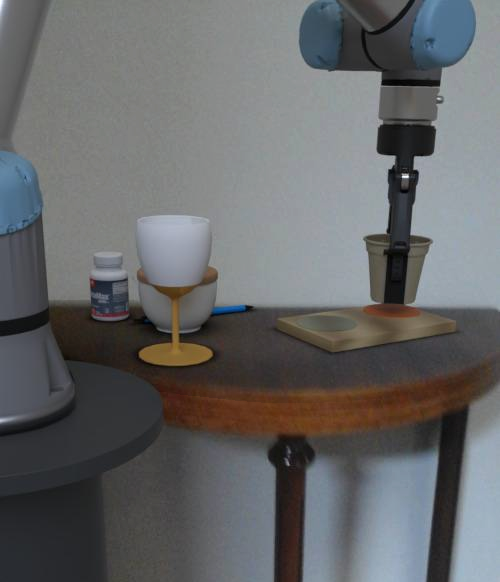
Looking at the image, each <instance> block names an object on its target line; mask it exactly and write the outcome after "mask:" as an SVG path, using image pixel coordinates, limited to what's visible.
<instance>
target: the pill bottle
mask: <svg viewBox="0 0 500 582" xmlns="http://www.w3.org/2000/svg"><path fill="white" fill-rule="evenodd" d="M92 257H93V265H94V266H95V268H93V269H92V270H91V271H90V272H89V290H90V291H89V292H90V293H89V294H90V309H91V310H90V311H91V318H92V319H94V320H96V321H101V322H119V321H123V320H126V319H128V318H129V316H130V295H129V274H128V271H126V269H125V268H122V265H123V264H124V255H123V252H120V251H97V252H94V253H93V255H92Z"/></svg>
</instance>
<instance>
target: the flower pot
mask: <svg viewBox="0 0 500 582" xmlns="http://www.w3.org/2000/svg"><path fill="white" fill-rule="evenodd" d="M362 240H363V242H365V251H366V252H367V256H368V257H367V258H368V259H367V260H368V273H369V274H368V275H369V292H370V293H369V296H370V299H371V301H372V302H374V303H377V304H386V303H384V291H385V279H386V266H387V255H383V251H384V249H389V245H390V234H387V233H373V234H368V235H367V234H366V235H364V236H363V238H362ZM433 243H434V240H433V239H432V238H431V237H427V236H422V235H416V234H410V252H409V253H408V265H407V276H406V287H405V298H404V304H398V305H406V306H407V305H411V304H413V303H415V302H416V299H417V293H418V288H419V284H420V281H421V277H422V272H423V267H424V263H425V259H426V256H427V254H428V253H429V250H430V247H431V245H432V244H433ZM402 244H404V243H402Z"/></svg>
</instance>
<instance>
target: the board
mask: <svg viewBox="0 0 500 582" xmlns="http://www.w3.org/2000/svg"><path fill="white" fill-rule="evenodd" d="M366 306H367V305H365V306H358V307H350V308H343V309H337V310H329V311H322V312H314V313H307V314H301V315H294V316H293V315H292V316H286V317H285V316H284V317H278V318H277V319H276V330H278V331H279V332H282V333H285V334H287V335H289V336H292V337H293V338H296V339H299V340H301V341H304V342H306V343H308V344H310V345H313V346H316V347H318V348H320V349H322V350H325V351H327V352H330V353H332V354H333V353H339V352H344V351H351V350H357V349H363V348H368V347H374V346H375V347H376V346H379V345H385V344H386V345H387V344H392V343H398V342H404V341H409V340H415V339H421V338H426V337H433V336H439V335H444V334H451V333H455V332H456V329H457V321H456V320H454V319H451V318H447V317H445V316H441V315H438V314H435V313H431V312H428V311H426V310H422V309H419V308H417V309H418V310H419V311H420V314H419V315H417V316H414V317H408V318H387V317H379V316H374V315H370V314H368V313H366V312H364V311H363V308H364V307H366Z"/></svg>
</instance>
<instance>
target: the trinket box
mask: <svg viewBox="0 0 500 582" xmlns="http://www.w3.org/2000/svg"><path fill="white" fill-rule="evenodd" d="M218 278H219V272H218V270H217V269H216V268H214V267H212V266H210V265H208V268H207V271H206V273H205V275H204V277H203V279H202V281H201V282H200V283H199V284H198V285H197V286H196V287H195V288H194V289H193V290H192V291H191V292H190V293H188V294H185V295H183V296H182V297H180V299H179V300H178V308H179V334H189V333H194V332H197V331H199V330H201V328H202V326H203V325H204V324H205V323H206V322H207V320H209V318H210V317H211V316H212V315H211V313H212V311H213V309H214V308H215V304H216V300H217V295H218ZM136 279H137V286H138V287H137V288H138V297H139V302H140V306H141V309H142V311H143V313H144V316H147V318H148V319H149V320H150V321H151V322H150V323H152V325H154V326H155V329H156V330H158V331H159V332H162V333H166V334H167V333H168V334H172V300H171V299H170V298H169V297H168V296H166V295H164V294H162V293H160V292H158V291H157V290H156V289H155V288H154V287H153V286H152V285H151V284H150V283H148V281H147V279H146V277H145V275H144V273H143V271H142V269H141V267H140V268H138V269H137V271H136Z"/></svg>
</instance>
